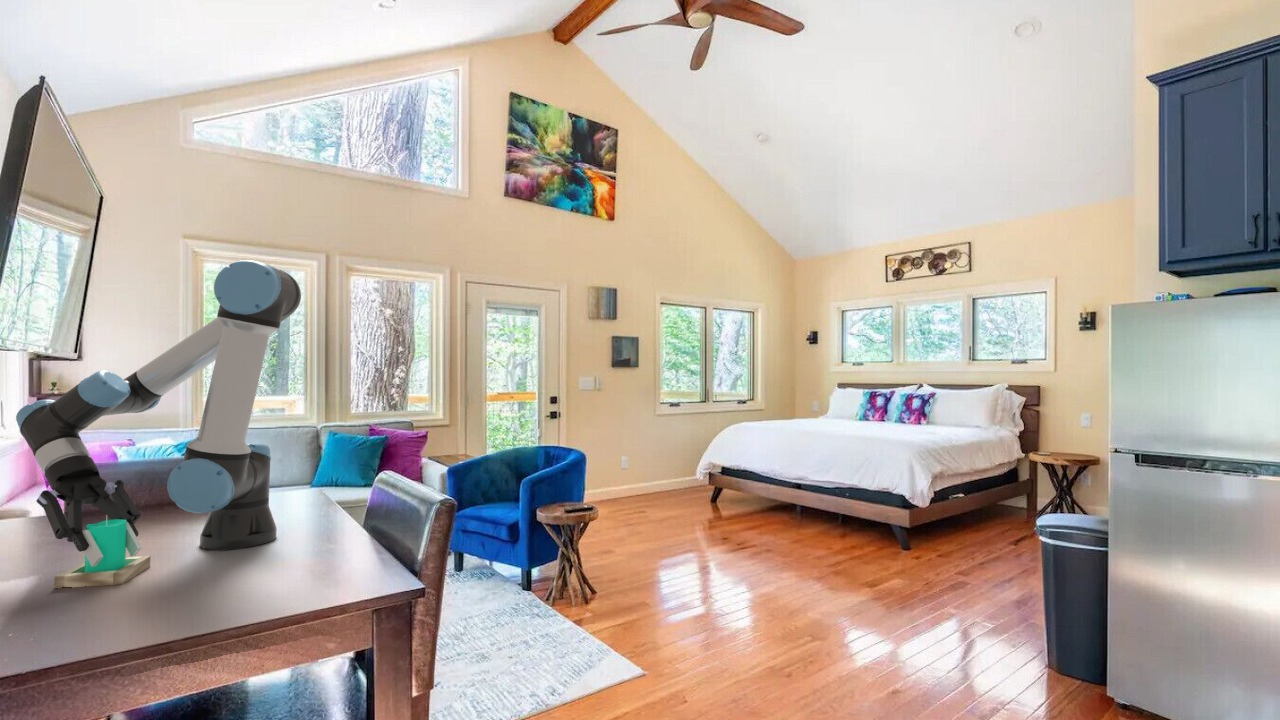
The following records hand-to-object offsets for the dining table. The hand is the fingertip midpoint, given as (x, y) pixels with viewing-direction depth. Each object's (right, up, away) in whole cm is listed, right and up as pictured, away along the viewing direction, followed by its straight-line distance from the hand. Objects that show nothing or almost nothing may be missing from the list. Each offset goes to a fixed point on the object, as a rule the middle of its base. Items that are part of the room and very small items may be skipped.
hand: (117, 556), depth 117 cm
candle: (-3, -5, +1) cm, 6 cm away
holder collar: (-4, -4, +1) cm, 6 cm away
